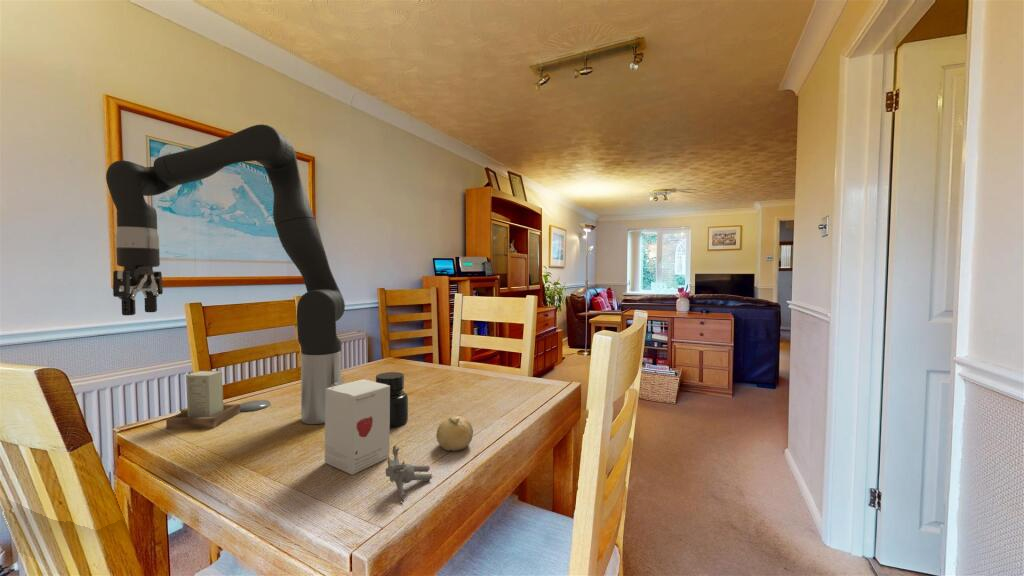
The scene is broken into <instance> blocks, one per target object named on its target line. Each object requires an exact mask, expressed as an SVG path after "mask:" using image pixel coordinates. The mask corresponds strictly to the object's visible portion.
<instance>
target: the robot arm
mask: <svg viewBox="0 0 1024 576" xmlns="http://www.w3.org/2000/svg"><path fill="white" fill-rule="evenodd" d="M244 162H256V163H259V164H260V165H262V166H263V169H264V170H265V172H266V174H267V176H268V180H269V182H270V185H271V187H272V192H273V205H272V206H273V207H272V216H273V217H272V218H273V223H274V227H275V230H276V232H277V235H278V238H279V242H280V243H281V244H280V245H281V246H282V248H283V250H284V251H285V253H286V255H287V256H288V257H289V258H290V260H291V262H292V263H293V265H294V266H295V267H296V268H297V270H298V272H299V273H300V275H301V276H302V279H303V282H304V285H305V288H306V292H305V293H303V294H302V296H301V297H300V298H299V299H298V302H297V306H296V331H297V340H298V341H297V342H298V343H299V346H300V349H301V350H300V354H301V355H300V358H301V359H300V360H301V361H300V362H301V363H300V364H301V365H300V369H301V370H300V371H301V374H300V375H301V377H300V379H301V380H300V382H301V383H300V387H301V390H300V391H301V393H300V394H301V395H300V397H301V402H300V404H301V406H300V407H301V409H300V415H301V420H300V421H301V423H303V424H308V425H319V424H325V389H326V388H330V387H334V386H338V385H342V384H345V379H344V378H343V377H342V341H341V339H340V338H338V335H337V322H338V321H339V320H340V319H341V318H342V316H343V315H344V313H345V308H346V303H345V299H344V297H343V295H342V293H341V290H340V288H339V286H338V284H337V281H336V280H335V277H334V275H333V272H332V270H331V268H330V264H329V260H328V257H327V254H326V251H325V247H324V244H323V241H322V238H321V233H320V230H319V227H318V225H317V221H316V218H315V216H314V213H313V210H312V208H311V204H310V201H309V199H308V196H307V193H306V191H305V187H304V186H303V182H302V178H301V173H300V168H299V165H298V158H297V156H296V150H295V148H294V146H293V143H292V142H291V141H290V140H289V139H288V138H287V137H286V136H285V135H283V134H282V133H281V132H280V131H278V130H277V129H276V128H274V127H272V126H270V125H267V124H256V125H252V126H248V127H246V128H244V129H242V130H239V131H237V132H235V133H232V134H230V135H228V136H225V137H222V138H221V139H218V140H217V139H216V140H215V141H213V142H210V143H207V144H203V145H201V146H198V147H194V148H190V149H187V150H183V151H178V152H177V151H176V152H173V153H169V154H165V155H161V156H159V157H157V158H155V159H154V161H153V165H152V166H143V165H141V164H138V163H135V162H131V161H129V160H123V159H122V160H120V159H119V160H116V161H114V162H112V163H111V164H110V165H109V166H108V167H107V170H106V174H105V181H106V184H107V185H106V186H107V188H108V190H109V194H110V196H111V199H112V201H113V204H114V206H115V209H116V234H115V246H116V247H115V248H116V249H115V251H116V254H115V255H116V265H117V266H118V267H121V268H122V267H123V270H113V274H112V277H113V279H112V280H113V282H112V283H113V285H112V295H113V297H114V298H118V299H119V300H121V315H122V316H135V315H136V296H137V294H138V293H139V292H142V295H144V312H145V313H157V311H158V299H157V298H158V297H159V295H163V292H164V291H163V289H164V288H163V277H162V271H157V270H156V271H154V269H153V268H158V267H159V266H161V263H160V262H161V261H160V258H161V257H160V238H159V234H158V233H159V231H158V215H157V210H156V208H155V207H153V206H152V205H151V204H149V203H147V201H146V200H145V197H151V196H158V195H162V194H164V193H166V192H168V191H171V190H172V189H174V188H176V187H178V186H179V185H180V186H181V185H185V184H189V183H193V182H196V181H201V180H204V179H207V178H210V177H211V176H213V175H215V174H217V173H218V172H219V171H221V170H222V169H224V168H226V167H229V166H230V165H234V164H238V163H244ZM144 196H145V197H144ZM120 290H121V291H120Z"/></svg>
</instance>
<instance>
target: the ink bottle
mask: <svg viewBox="0 0 1024 576" xmlns="http://www.w3.org/2000/svg"><path fill="white" fill-rule="evenodd" d="M375 382H377V383H382V384H386V385H390V429H391V428H396V427H400V426H403V425H405V424H406V423H407V422H408V421H409V420H408V419H409V396H408V394H407V393H406V392H405V391H404V388H405V374H404V373H402V372H399V371H398V372H397V371H390V372H388V371H387V372H381V373H378V374H376V375H375Z"/></svg>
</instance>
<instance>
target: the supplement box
mask: <svg viewBox="0 0 1024 576" xmlns="http://www.w3.org/2000/svg"><path fill="white" fill-rule="evenodd" d="M390 429H391V428H390V385H386V384H382V383H377V382H376V381H372V380H368V379H365V378H364V379H359V380H355V381H351V382H346V383H345V382H344V384H342V385H338V386H334V387H330V388H326V389H325V423H324V463H325V464H327V465H329V466H332V467H334V468H335V469H338V470H340V471H342V472H345V473H347V474H349V475H351V476H352V475H355V474H357V473H359V472H362V471H363V470H366V469H368V468H370V467H371V466H373V465H376V464H377V463H378V464H379V463H381V462H382V461H385V460H386V459H388V458H390Z"/></svg>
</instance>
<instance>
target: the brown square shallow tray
mask: <svg viewBox="0 0 1024 576" xmlns="http://www.w3.org/2000/svg"><path fill="white" fill-rule="evenodd" d="M240 404H241V403H226V404H225V403H223V411H222V412H220V413H218V414H216V415H215V416H213V417H188V411H187V408H186V407H185V408H182V409H180V413H177V414H175V415H173V416H171V417H168V418H166V427H165V428H166V430H192V429H193V430H196V429H198V430H199V429H202V430H203V429H204V430H205V429H215V428H217V427H219V426H220V425H222V424H224V423H225V422H227V421H228V419H229V420H230V419H232V418H234V417H235V415H236V416H237V415H239V414H241V412H240ZM233 416H234V417H233ZM223 422H224V423H223Z"/></svg>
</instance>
